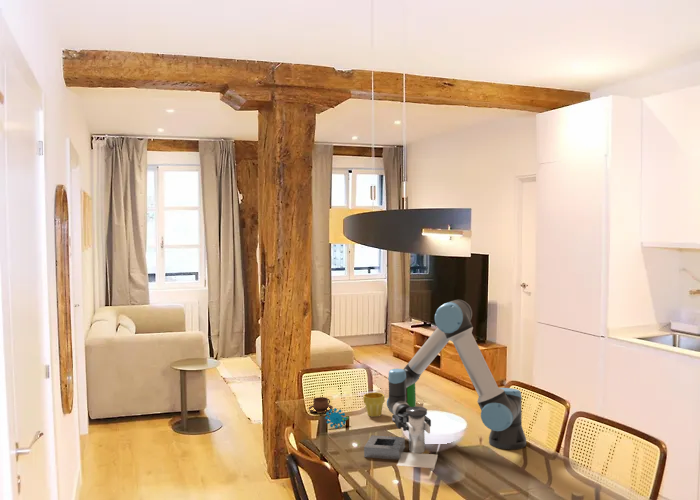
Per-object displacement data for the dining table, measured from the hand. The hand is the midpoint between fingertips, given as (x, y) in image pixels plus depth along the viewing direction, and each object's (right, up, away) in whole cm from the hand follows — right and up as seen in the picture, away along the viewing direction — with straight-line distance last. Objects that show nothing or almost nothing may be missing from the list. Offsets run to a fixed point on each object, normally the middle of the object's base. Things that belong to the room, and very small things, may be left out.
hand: (420, 430), depth 232 cm
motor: (+2, -12, +77) cm, 78 cm away
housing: (-13, -14, +15) cm, 24 cm away
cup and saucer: (-41, -13, +76) cm, 87 cm away
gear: (-33, -13, +52) cm, 63 cm away
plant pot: (-15, -13, +68) cm, 70 cm away
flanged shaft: (-1, -9, +5) cm, 11 cm away
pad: (0, -14, +5) cm, 15 cm away
